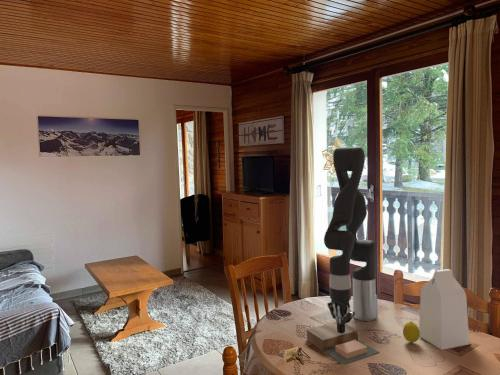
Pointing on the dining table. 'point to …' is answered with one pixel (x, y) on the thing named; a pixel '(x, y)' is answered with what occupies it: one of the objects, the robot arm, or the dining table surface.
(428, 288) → the milk
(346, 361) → the mat
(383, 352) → the dining table surface
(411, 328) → the lemon
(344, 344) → the pink sponge
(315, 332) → the deck
